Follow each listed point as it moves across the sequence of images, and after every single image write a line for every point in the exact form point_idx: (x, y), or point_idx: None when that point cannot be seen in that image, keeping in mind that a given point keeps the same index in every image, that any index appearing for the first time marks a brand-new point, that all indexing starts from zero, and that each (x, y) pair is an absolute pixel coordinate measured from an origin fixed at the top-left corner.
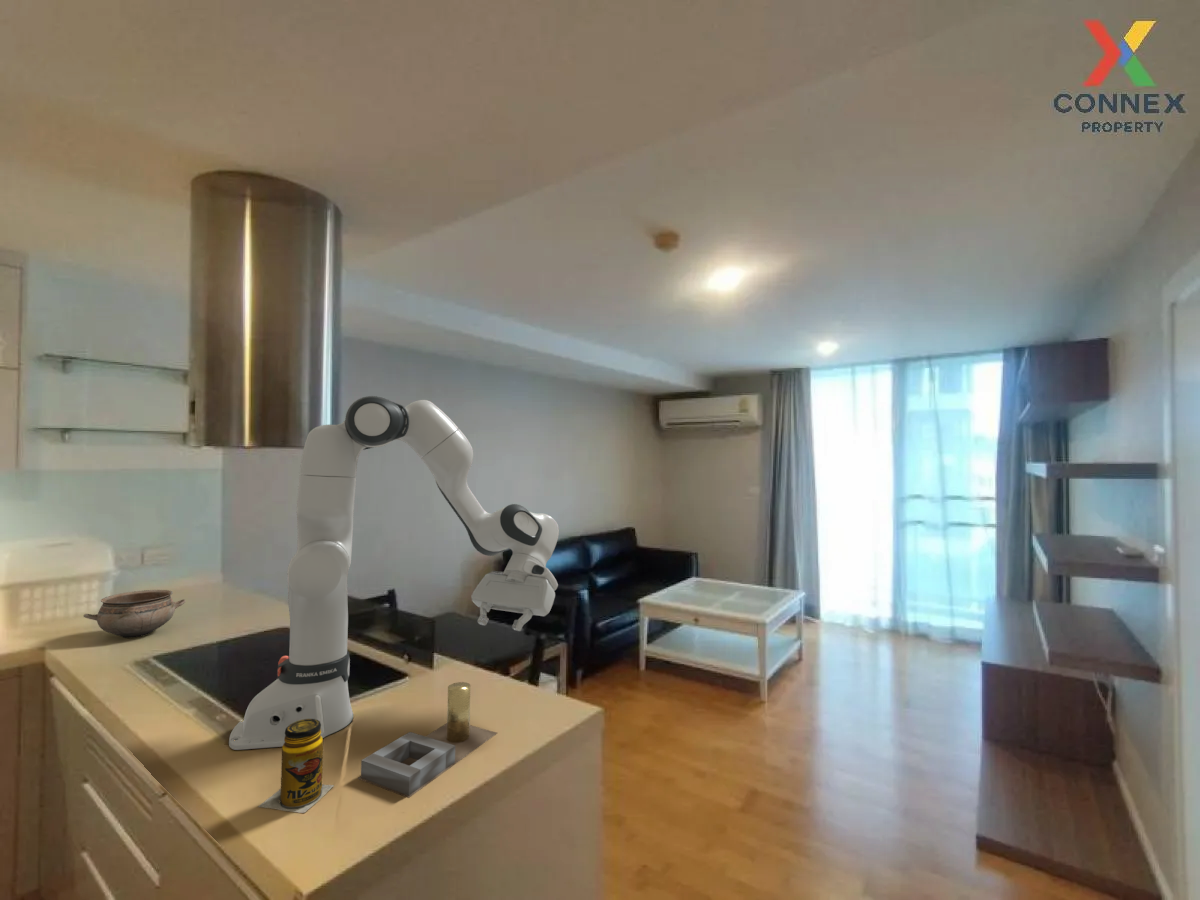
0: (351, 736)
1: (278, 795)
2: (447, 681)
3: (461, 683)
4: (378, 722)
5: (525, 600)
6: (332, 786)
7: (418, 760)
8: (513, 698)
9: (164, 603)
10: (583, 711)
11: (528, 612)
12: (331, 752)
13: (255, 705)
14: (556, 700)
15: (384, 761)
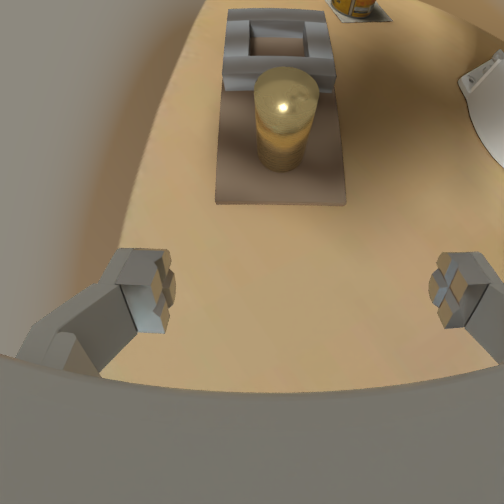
0: (445, 111)
1: (374, 5)
2: None
3: (297, 106)
4: (457, 160)
5: (11, 430)
6: (342, 21)
7: (247, 30)
8: (299, 386)
9: None
10: None
11: (28, 345)
12: (422, 71)
13: None
14: None
15: (291, 15)
